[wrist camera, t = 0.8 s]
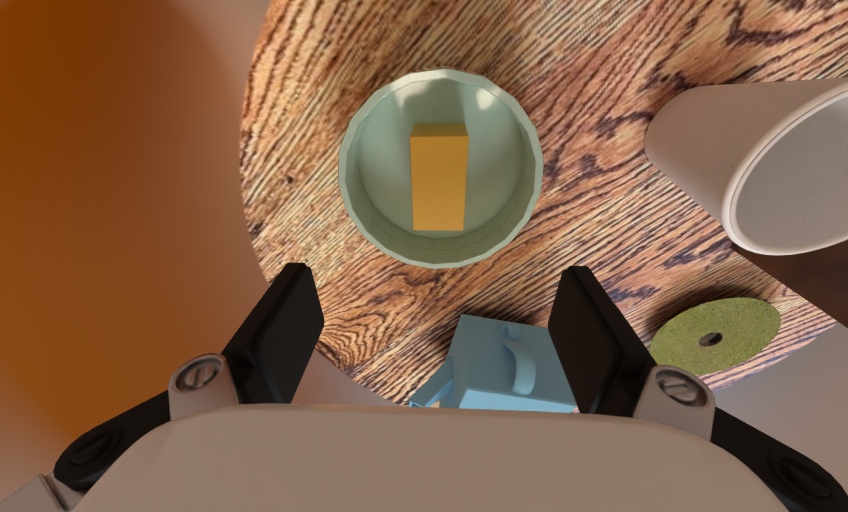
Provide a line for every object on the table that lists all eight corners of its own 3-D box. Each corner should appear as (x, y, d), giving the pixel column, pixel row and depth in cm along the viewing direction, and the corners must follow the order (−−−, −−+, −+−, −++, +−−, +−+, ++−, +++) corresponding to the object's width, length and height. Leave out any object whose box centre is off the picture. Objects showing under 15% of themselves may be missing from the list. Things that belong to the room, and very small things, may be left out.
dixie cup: (745, 28, 19) (988, 9, 10) (768, 141, 22) (964, 196, 14) (606, 119, 22) (706, 161, 13) (645, 206, 25) (744, 282, 17)
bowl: (401, 20, 19) (391, 13, 16) (565, 132, 22) (590, 148, 19) (330, 194, 26) (311, 219, 22) (464, 262, 29) (467, 293, 25)
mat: (616, 337, 34) (625, 352, 32) (715, 266, 28) (732, 279, 26) (685, 373, 36) (697, 388, 35) (789, 314, 31) (808, 328, 29)
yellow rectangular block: (414, 123, 22) (409, 136, 19) (465, 123, 22) (469, 135, 19) (417, 207, 26) (413, 230, 22) (460, 207, 25) (463, 230, 22)
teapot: (428, 281, 31) (421, 383, 21) (600, 310, 32) (667, 420, 22) (405, 376, 39) (394, 478, 30) (541, 397, 40) (571, 502, 31)
